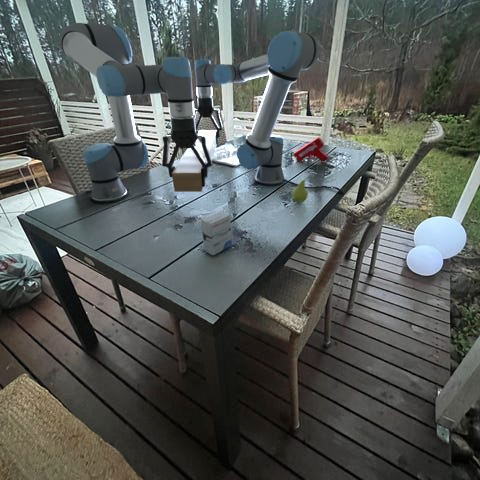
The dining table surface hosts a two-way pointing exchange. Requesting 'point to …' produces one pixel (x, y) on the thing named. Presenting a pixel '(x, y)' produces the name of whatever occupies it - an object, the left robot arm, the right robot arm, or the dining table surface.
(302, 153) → the toy gun
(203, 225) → the ink box
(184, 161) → the slab
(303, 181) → the fruit
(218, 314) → the dining table surface
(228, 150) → the relief map
